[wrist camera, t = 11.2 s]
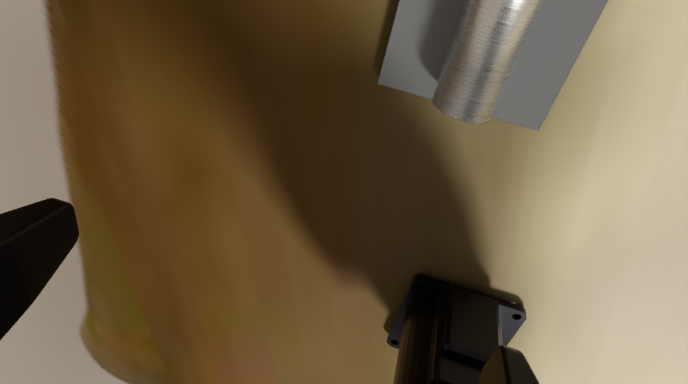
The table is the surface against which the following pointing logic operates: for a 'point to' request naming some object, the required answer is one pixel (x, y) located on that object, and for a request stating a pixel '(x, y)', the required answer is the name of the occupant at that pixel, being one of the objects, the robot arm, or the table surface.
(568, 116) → the table surface
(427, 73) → the mat
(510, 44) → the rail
